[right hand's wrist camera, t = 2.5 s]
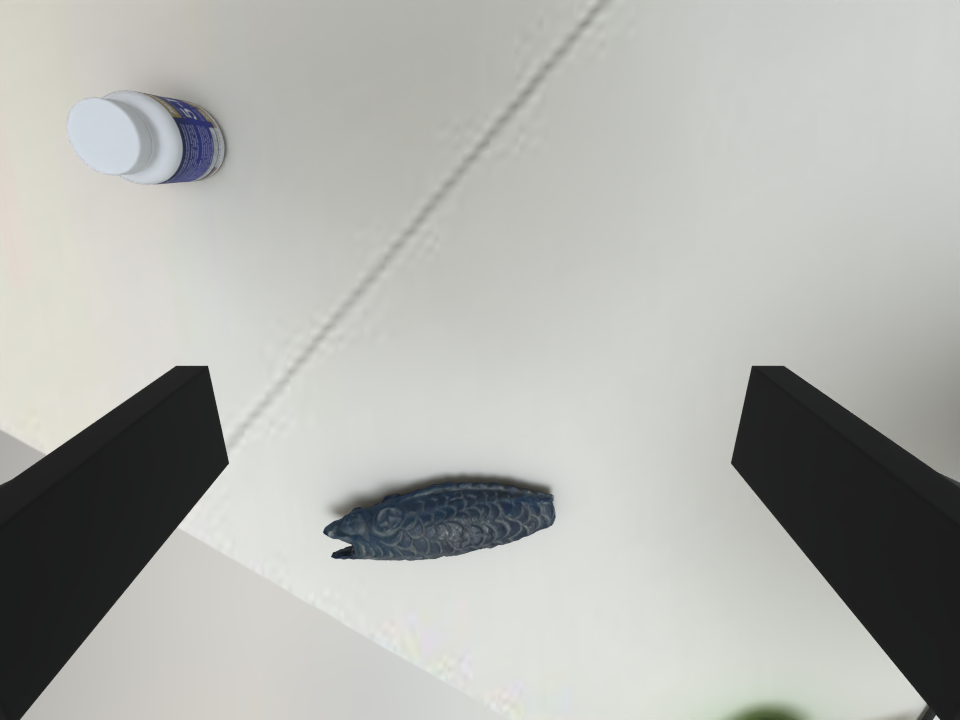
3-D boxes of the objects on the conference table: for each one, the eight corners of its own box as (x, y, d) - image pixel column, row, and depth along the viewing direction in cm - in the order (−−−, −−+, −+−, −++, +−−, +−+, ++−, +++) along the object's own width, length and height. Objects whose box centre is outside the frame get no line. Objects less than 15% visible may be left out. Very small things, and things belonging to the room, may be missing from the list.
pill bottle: (225, 107, 36) (148, 92, 27) (228, 185, 37) (157, 194, 29) (147, 94, 35) (45, 76, 27) (154, 174, 37) (61, 179, 29)
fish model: (325, 485, 47) (309, 522, 43) (551, 465, 47) (560, 500, 42) (339, 541, 50) (326, 582, 45) (554, 523, 49) (562, 562, 45)
